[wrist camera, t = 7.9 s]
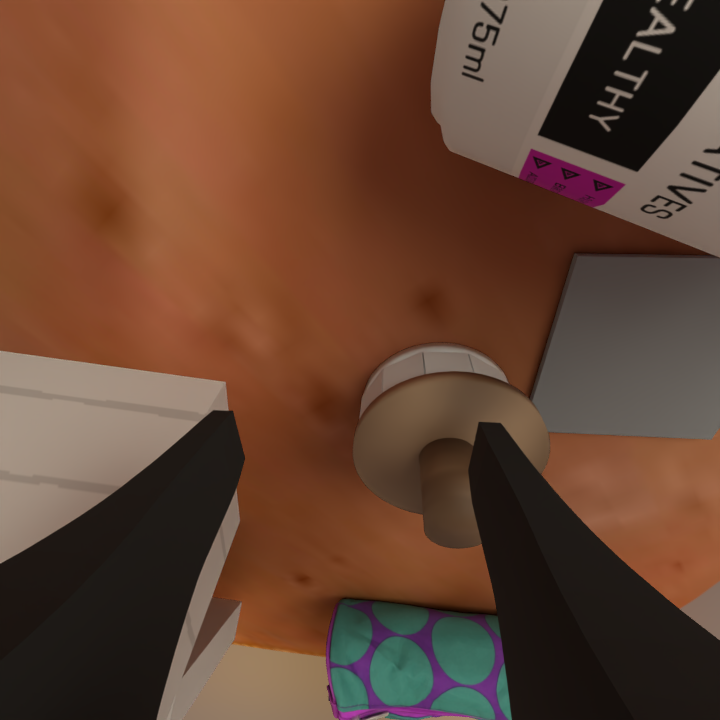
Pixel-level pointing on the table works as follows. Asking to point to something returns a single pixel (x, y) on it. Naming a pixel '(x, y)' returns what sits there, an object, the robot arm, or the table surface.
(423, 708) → the pencil case
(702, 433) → the mat
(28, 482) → the pizza boxes
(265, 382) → the table surface
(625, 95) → the supplement can
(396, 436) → the lid
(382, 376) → the bowl
